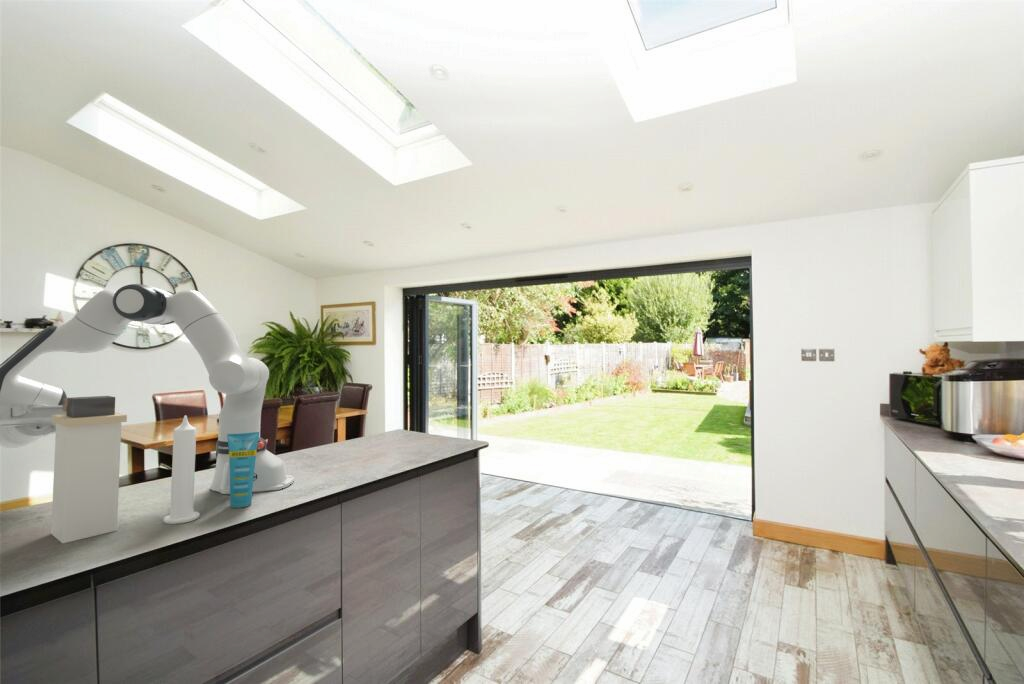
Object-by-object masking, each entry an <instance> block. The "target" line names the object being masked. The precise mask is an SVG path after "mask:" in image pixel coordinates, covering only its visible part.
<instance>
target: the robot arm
mask: <svg viewBox="0 0 1024 684" xmlns="http://www.w3.org/2000/svg"><path fill="white" fill-rule="evenodd" d="M131 322H138V323H139V322H140V323H144V324H146V325H147V324H149V325H161V326H162V325H163V326H166V325H170V324H174V323H175V324H176V325H177V327H178V328H179V329H180V330H181V331H182V334H183V335H184V336H185V337H186V339H187V340H188V341H189V342H190V344H191V345H192V346H193V348H194V349H195V350H196V352H197V353H198V355H199V356H200V358H201V360H202V362H203V364H204V367H205V369H206V371H207V373H208V380H209V385H211V387H212V388H213V389H214V390H215V391H216V392H219V393H221V394H223V395H225V397H224V398H225V399H224V402H223V405H222V407H221V410H220V412H219V415H218V433H217V434H218V435H217V437H218V439H217V440H216V444H215V458H216V464H215V469H214V470H215V471H214V473H213V478H212V482H211V484H210V487H209V489H210V490H211V491H213V492H218V493H220V494H221V495H230V464H229V447H228V439H227V434H240V433H251V432H259V439H258V445H257V452H256V460H255V469H254V479H253V490H252V493H256V492H268V491H269V492H270V491H279V490H282V488H283V489H285V488H288V487H289V486H291V485H292V484H293V483H294V482H293V481H295V477H294V476H293V475H292V474H288V472H287V468H286V467H287V466H286V463H285V462H284V460H283V459H281V458H280V457H278V456H277V455H275V453H274V454H273V453H272V452H271V451H269V450H268V449H267V444H268V443H269V442H268V440H269V439H268V438H267V439H264V438H263V437H262V436H261V424H262V423H261V422H262V420H261V419H262V410H263V404H264V397H265V395H266V389H267V383H268V380H269V378H270V369H269V368H268V366H267V364H266V363H264V362H263V361H262V360H260V359H258V358H255V357H247V356H246V354H245V353H244V352H243V350H242V349H241V346H240V345H239V342H238V339H237V335H236V333H235V332H234V331H233V329H232V328H231V326H230V325H229V324H228V322H227V321H226V320H225V319H224V317H223V315H222V314H221V313H220V312H219V310H218V309H217V308H216V307H215V306H214V304H213V303H212V302H211V301H210V300H208V299H207V297H205V295H203V294H202V293H200V292H199V291H197V290H194V289H183V290H180V291H178V292H176V293H173V291H172V292H171V291H169V290H165V289H163V288H160V287H156V286H154V285H153V286H151V285H147V284H143V283H131V284H127V285H123V286H122V287H120V288H118V290H114V289H103V290H101V291H99V292H97V293H96V294H95V295H93V296H92V297H91V298H90V299H89V300H88V301H86V303H85V304H84V305H82V306H81V308H80V309H79V310H78V312H76V314H75V315H74V316H73V317H72V318H71V319H70V320H68V321H67V322H65V323H63V324H62V323H61V324H59V325H50V326H48V327H47V326H46V328H44V329H42V330H41V331H39V332H38V333H36V334H35V335H34V336H33V337H32V338H30V339H29V340H28V341H26V342H25V343H24V344H23V345H22V346H20V348H18V349H17V350H16V351H15V352H14V353H12V354H11V355H10V356H9V357H7V358H6V359H5V360H4V361H3V362H2V363H1V364H0V446H2V447H4V448H8V449H18V448H19V449H20V448H22V447H26V446H28V445H30V444H32V443H34V442H36V441H38V440H39V439H41V438H42V437H47V436H51V435H56V423H54V422H51V418H52V415H58V414H67V412H66V411H62V408H63V398H68V397H67V394H66V392H65V390H64V389H63V388H60V387H57V386H55V385H52V384H48V383H45V382H40V381H37V380H34V379H31V378H28V377H24V376H22V375H20V374H19V373H20V372H22V371H23V370H24V369H25V368H27V367H28V366H29V365H30V364H31V363H33V362H34V361H35V360H36V359H37V358H38V357H40V356H42V355H44V354H47V353H51V352H52V353H54V352H65V353H67V352H68V353H76V354H77V353H78V354H88V353H89V354H91V353H97V352H101V351H104V350H105V349H107V348H109V346H111V345H112V344H113V343H114V342H115V340H116V339H117V338H118V337H119V336H120V334H121V333H122V331H123V330H124V329H126V328H125V327H127V325H128V324H130V323H131ZM290 484H291V485H290Z"/></svg>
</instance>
